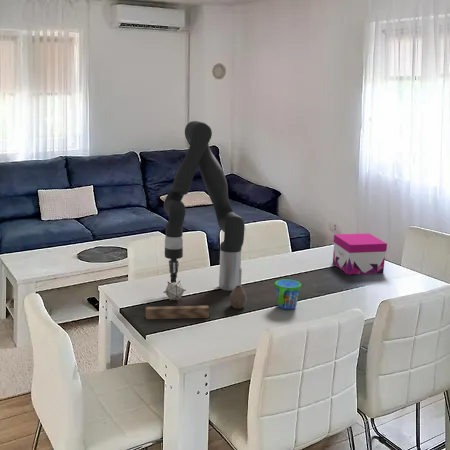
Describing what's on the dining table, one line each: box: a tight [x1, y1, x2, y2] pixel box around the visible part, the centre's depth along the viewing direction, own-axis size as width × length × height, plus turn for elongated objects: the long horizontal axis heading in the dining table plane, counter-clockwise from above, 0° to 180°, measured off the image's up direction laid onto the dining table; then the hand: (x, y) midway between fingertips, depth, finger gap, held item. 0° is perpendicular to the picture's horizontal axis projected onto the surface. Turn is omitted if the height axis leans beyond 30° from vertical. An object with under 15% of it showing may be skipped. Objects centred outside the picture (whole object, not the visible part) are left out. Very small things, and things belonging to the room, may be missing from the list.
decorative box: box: [332, 233, 388, 276], centre depth 301 cm, size 19×19×15 cm
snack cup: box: [274, 278, 302, 310], centre depth 249 cm, size 16×10×10 cm
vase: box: [229, 285, 248, 310], centre depth 248 cm, size 7×7×9 cm
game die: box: [163, 280, 187, 302], centre depth 253 cm, size 9×8×10 cm
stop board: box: [145, 305, 210, 320], centre depth 236 cm, size 24×2×4 cm, turn 98°
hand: (173, 285), depth 259 cm, fingers closed
